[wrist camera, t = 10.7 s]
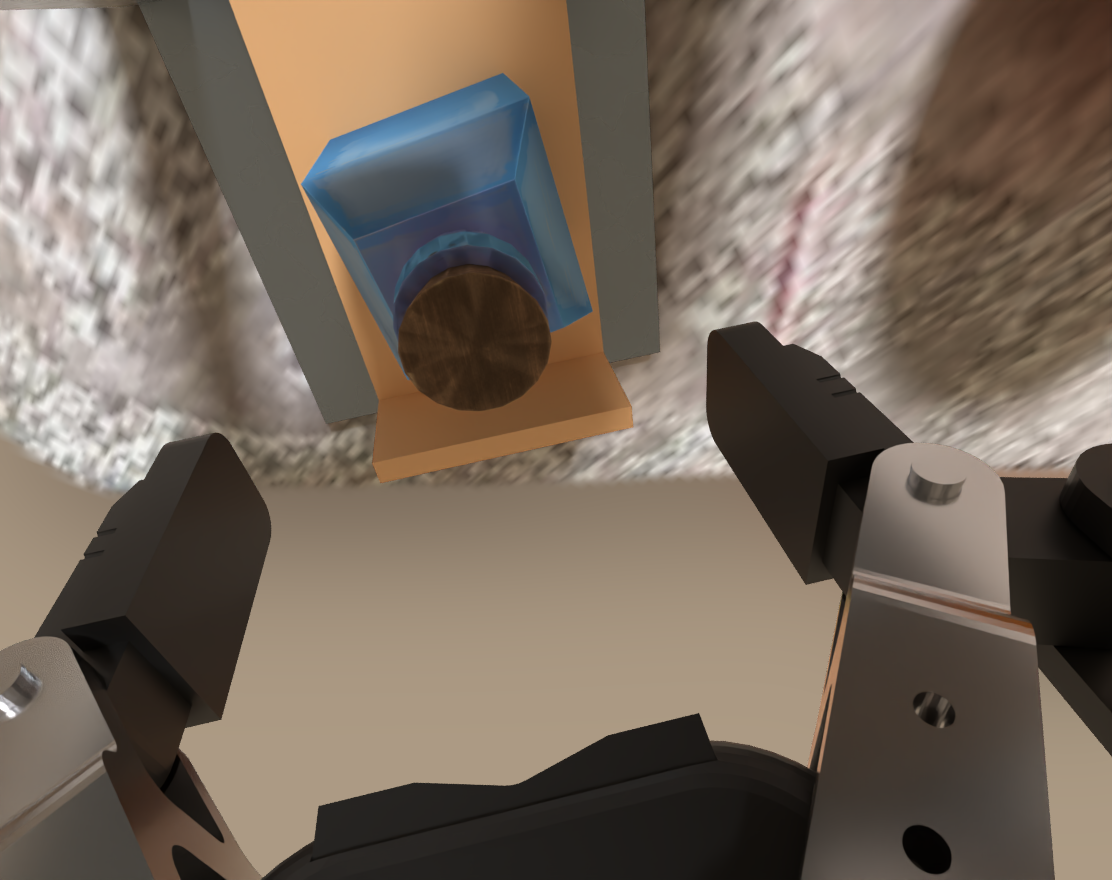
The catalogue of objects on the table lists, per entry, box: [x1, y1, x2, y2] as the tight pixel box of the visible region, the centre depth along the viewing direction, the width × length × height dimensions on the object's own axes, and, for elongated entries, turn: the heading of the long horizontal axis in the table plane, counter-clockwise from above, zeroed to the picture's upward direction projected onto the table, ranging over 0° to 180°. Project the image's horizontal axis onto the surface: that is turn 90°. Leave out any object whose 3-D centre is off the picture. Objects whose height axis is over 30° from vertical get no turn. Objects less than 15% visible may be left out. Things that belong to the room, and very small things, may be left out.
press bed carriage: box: [229, 0, 633, 483], centre depth 21 cm, size 16×10×6 cm, turn 8°
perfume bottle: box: [301, 73, 593, 411], centre depth 18 cm, size 6×6×12 cm
